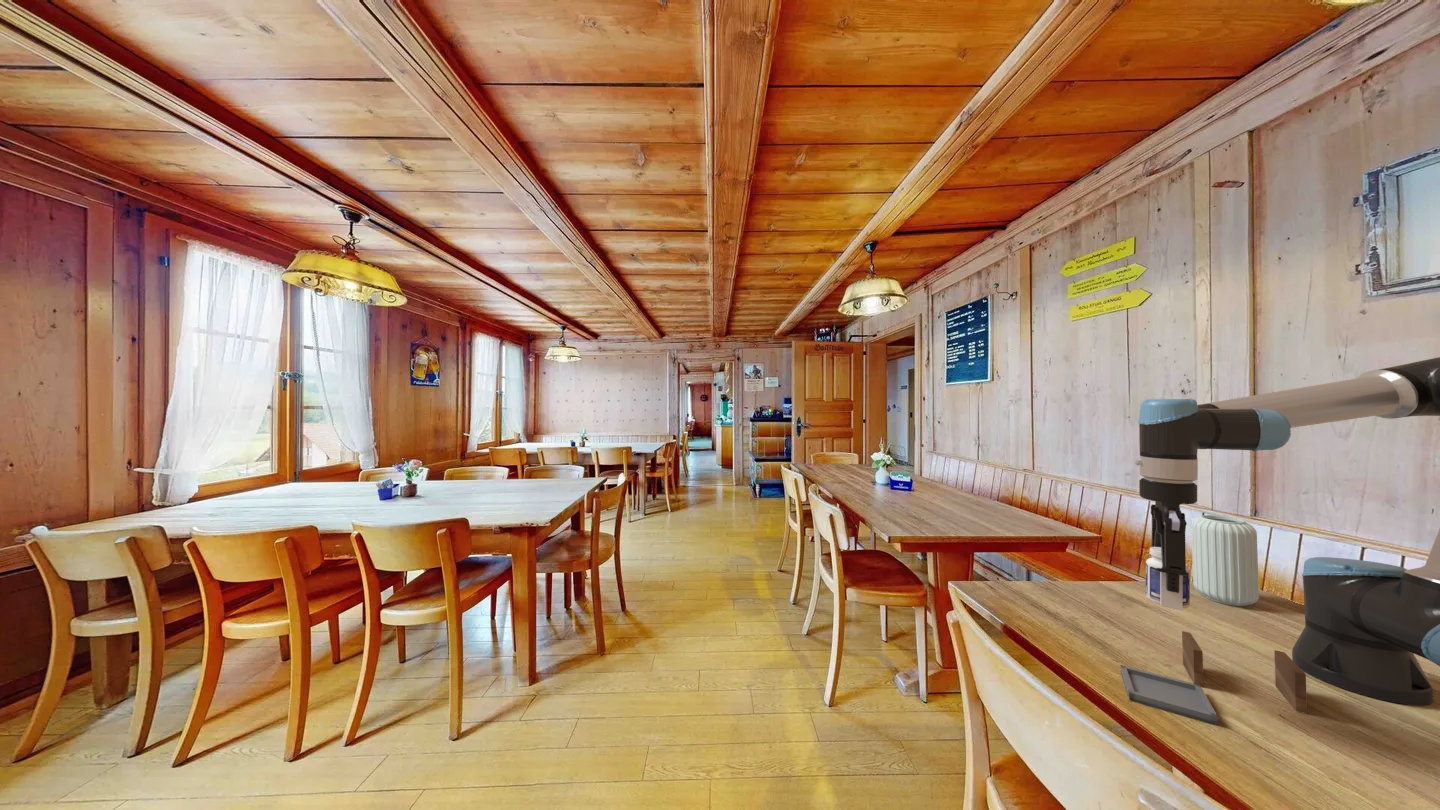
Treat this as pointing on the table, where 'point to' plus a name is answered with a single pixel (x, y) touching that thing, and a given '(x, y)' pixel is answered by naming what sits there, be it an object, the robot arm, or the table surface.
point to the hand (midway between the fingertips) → (1167, 600)
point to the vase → (1225, 560)
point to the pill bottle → (1154, 578)
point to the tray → (1168, 694)
